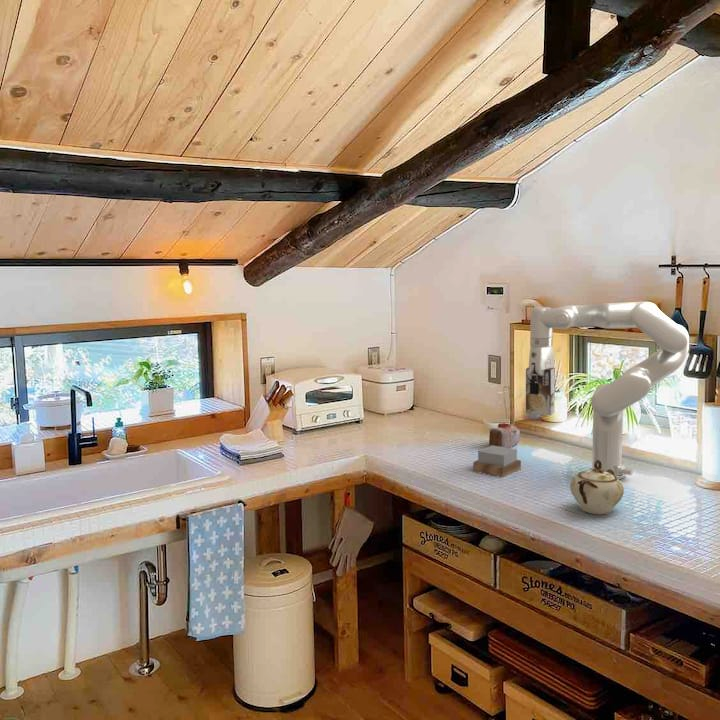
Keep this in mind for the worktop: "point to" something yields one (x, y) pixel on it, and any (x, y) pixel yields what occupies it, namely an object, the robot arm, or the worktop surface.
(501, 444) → the food item
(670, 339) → the robot arm
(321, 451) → the worktop surface
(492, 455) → the tower top block
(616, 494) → the sugar bowl
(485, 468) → the tower base block
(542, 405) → the coffee box
